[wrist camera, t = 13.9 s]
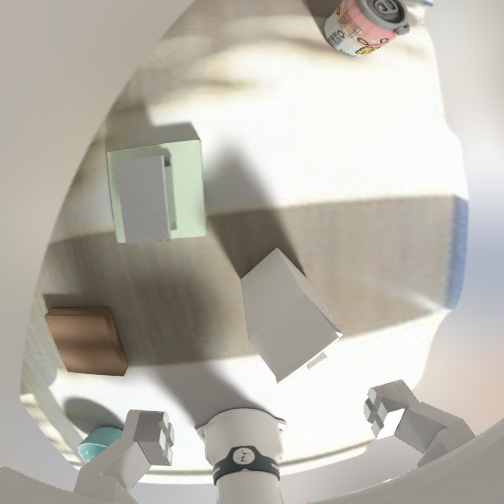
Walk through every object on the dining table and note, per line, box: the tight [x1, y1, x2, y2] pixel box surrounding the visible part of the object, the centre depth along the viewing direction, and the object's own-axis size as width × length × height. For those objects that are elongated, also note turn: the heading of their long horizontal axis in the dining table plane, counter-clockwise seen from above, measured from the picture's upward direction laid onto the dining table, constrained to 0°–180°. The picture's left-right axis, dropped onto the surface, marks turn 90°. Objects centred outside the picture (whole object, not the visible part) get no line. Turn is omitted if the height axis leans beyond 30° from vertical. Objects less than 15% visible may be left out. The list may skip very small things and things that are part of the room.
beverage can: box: [324, 0, 410, 57], centre depth 26 cm, size 9×8×12 cm
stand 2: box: [107, 140, 207, 243], centre depth 35 cm, size 12×12×3 cm
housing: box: [117, 156, 178, 245], centre depth 31 cm, size 5×9×6 cm, turn 3°
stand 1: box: [45, 307, 128, 376], centre depth 41 cm, size 12×12×3 cm
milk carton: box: [241, 247, 343, 384], centre depth 33 cm, size 7×7×19 cm
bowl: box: [78, 427, 123, 463], centre depth 48 cm, size 16×16×8 cm
